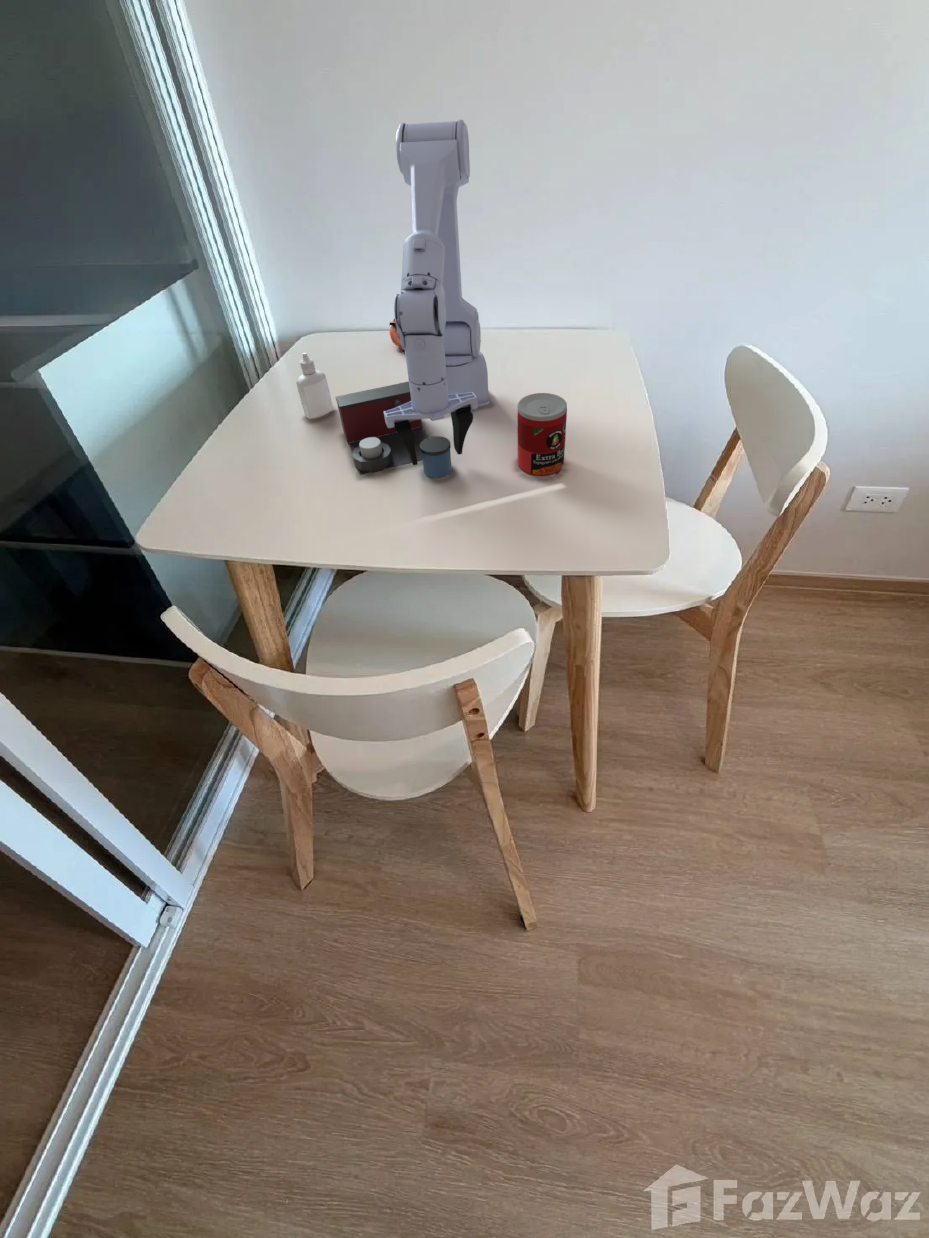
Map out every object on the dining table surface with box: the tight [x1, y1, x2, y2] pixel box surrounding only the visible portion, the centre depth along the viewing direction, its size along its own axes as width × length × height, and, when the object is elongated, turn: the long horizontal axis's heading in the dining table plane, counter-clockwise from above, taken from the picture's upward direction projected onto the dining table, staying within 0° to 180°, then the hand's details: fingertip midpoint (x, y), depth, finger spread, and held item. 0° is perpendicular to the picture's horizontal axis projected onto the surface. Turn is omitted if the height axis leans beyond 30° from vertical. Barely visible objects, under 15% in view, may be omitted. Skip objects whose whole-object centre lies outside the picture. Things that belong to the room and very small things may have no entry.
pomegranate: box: [388, 318, 405, 351], centre depth 138 cm, size 7×7×10 cm
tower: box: [335, 381, 423, 444], centre depth 112 cm, size 5×14×8 cm, turn 108°
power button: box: [359, 437, 382, 458], centre depth 105 cm, size 4×4×2 cm
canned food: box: [516, 392, 568, 477], centre depth 100 cm, size 8×8×11 cm
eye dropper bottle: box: [296, 352, 334, 420], centre depth 117 cm, size 4×6×12 cm
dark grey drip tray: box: [347, 426, 429, 476], centre depth 109 cm, size 11×14×3 cm
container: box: [420, 435, 453, 479], centre depth 102 cm, size 5×5×6 cm
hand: (436, 456), depth 102 cm, fingers open, 7 cm apart
